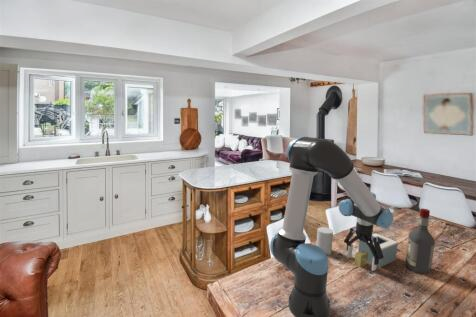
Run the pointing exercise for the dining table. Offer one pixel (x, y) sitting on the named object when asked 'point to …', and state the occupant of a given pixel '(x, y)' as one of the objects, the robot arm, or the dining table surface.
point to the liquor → (420, 246)
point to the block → (361, 258)
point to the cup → (325, 239)
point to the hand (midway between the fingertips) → (361, 263)
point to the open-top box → (386, 246)
